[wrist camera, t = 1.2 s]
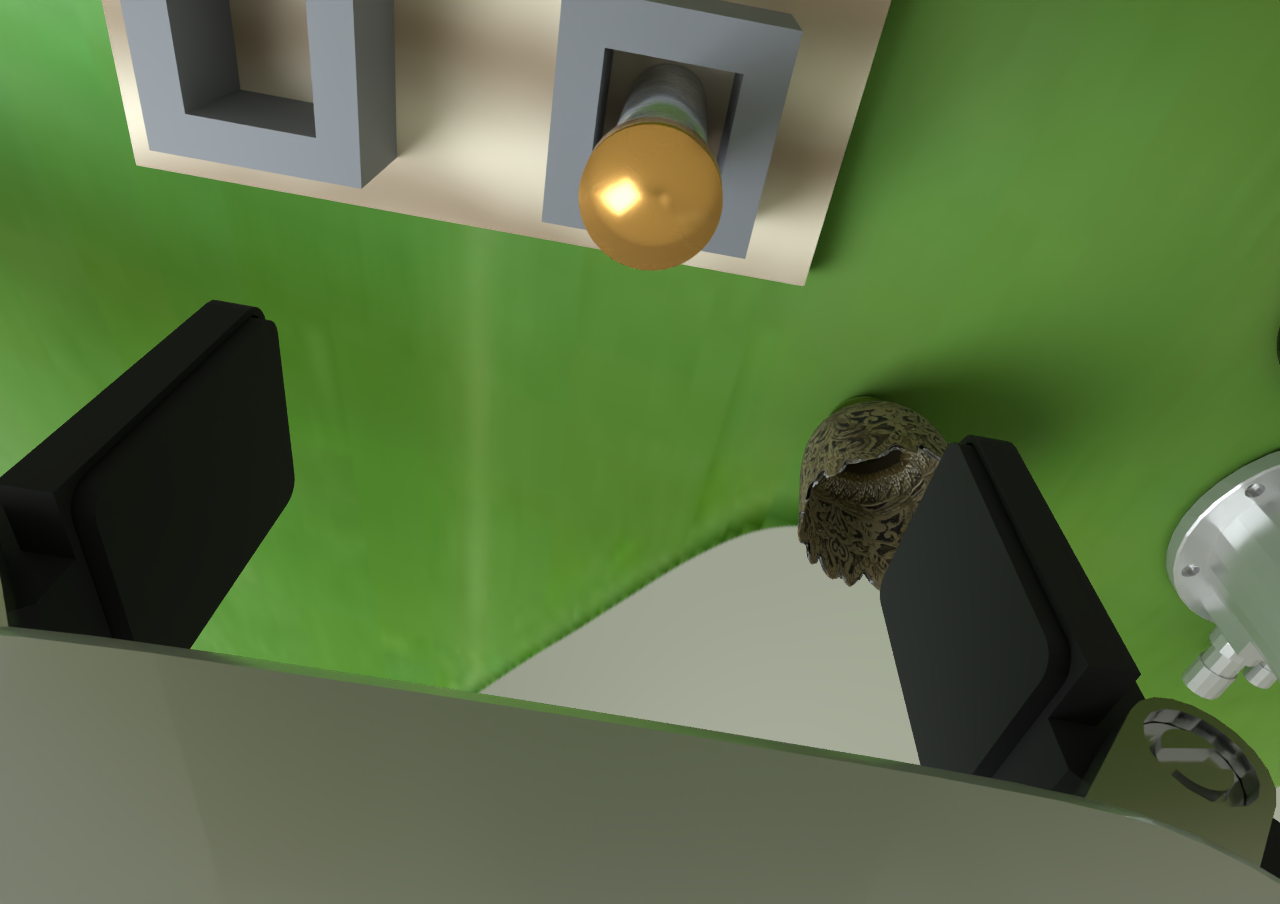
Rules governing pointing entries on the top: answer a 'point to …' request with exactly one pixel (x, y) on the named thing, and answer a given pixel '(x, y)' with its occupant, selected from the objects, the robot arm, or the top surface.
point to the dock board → (539, 115)
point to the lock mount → (684, 32)
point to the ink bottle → (1278, 345)
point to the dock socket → (260, 123)
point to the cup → (864, 485)
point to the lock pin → (654, 175)
